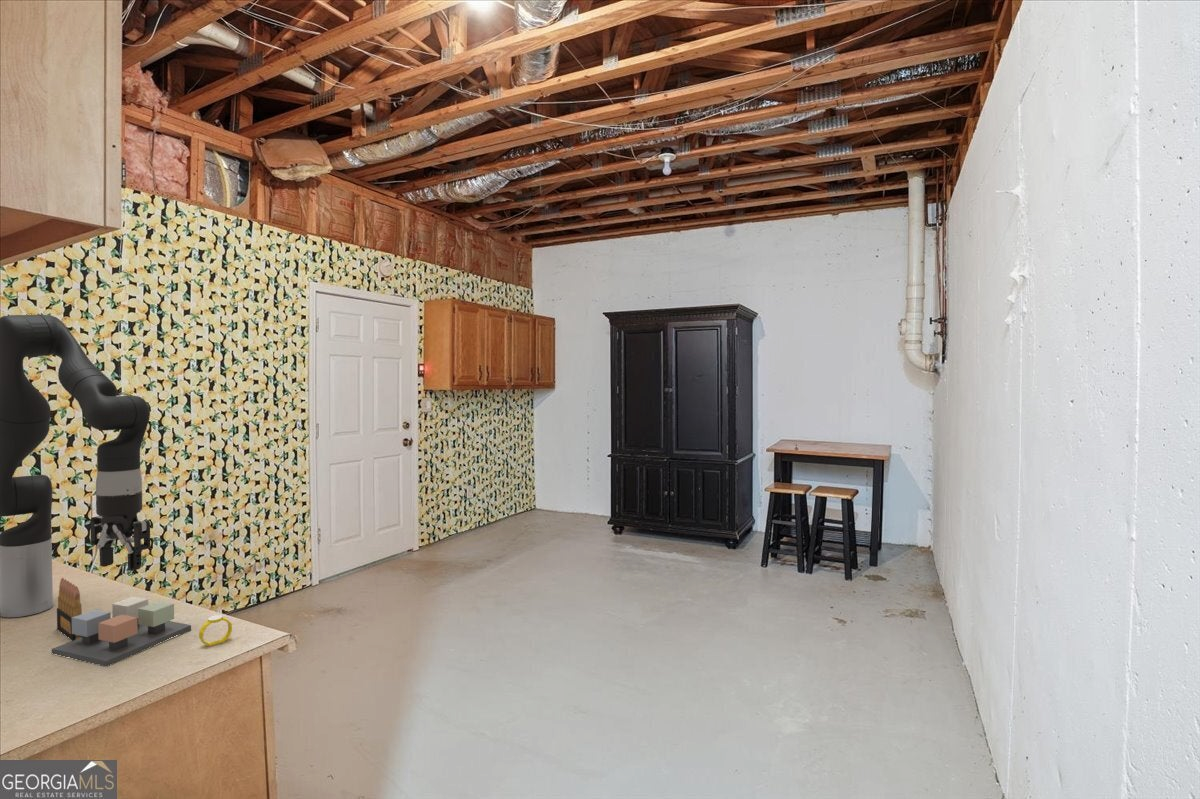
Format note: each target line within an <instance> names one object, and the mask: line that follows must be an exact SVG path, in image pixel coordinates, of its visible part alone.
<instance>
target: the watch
mask: <svg viewBox="0 0 1200 799" xmlns="http://www.w3.org/2000/svg"><path fill="white" fill-rule="evenodd" d="M222 621H224V622H225V623H227V626H228V627H227V628H228V629H227V631H226V634H225V635H224V636H223V637H222V638H221V639H217V640H214V641H211V642H208V641H205V639H204V632H205V630H206V629H207V627H208V626H210V624H216V623H220V622H222ZM232 632H233V626H232V623H231V621H230V620H229V619H228V618H226V617H224V616H223V615H222V614H215V615H212V616H209V617H208V618H207V621H206V622H204V624H202V626H201V627H200V629H199V634H198V636H199V640H200V642H201V643H203V645H205V646H207V647H212V646H215V645H218V644H221V643H226V641H227V640H228V639H229V638H230V637H231V634H232Z"/></svg>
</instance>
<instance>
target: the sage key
mask: <svg viewBox="0 0 1200 799" xmlns="http://www.w3.org/2000/svg"><path fill="white" fill-rule="evenodd" d="M174 619H175V604H174V603H172V602H165V601H161V600H159V601H155V602H153V603H150V604H149V603H148V605H147V606H144V607H141V608H138V624H140V625H146V626H151V627H155V626H158V625H160V624H163V623H165V622H168V621H172V620H174Z"/></svg>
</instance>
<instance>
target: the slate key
mask: <svg viewBox="0 0 1200 799" xmlns="http://www.w3.org/2000/svg"><path fill="white" fill-rule="evenodd" d="M111 612H112V611H104V610H99V609H93V610H90V611H87V612H85V613H82V614H81V615H78V616H75V617H72V634H75V635H80V636H85V637H88V636H91V635H94V634H96V633H98V623H100V622H103V621H105V620H108V619H111V618H112V617H111V616H112V615H111Z"/></svg>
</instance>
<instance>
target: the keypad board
mask: <svg viewBox="0 0 1200 799" xmlns="http://www.w3.org/2000/svg"><path fill="white" fill-rule="evenodd" d="M137 631H138V634H135V635H133V636H130V637H128V638H125V639H123V640H120V641H118V642H115V643H113V642H108V641H104V640H99V633H96V634H94V635H91V636H88V637H85V636H82V638H79V639H76V640H74V641H71V640H70V641H68V642H66V643H63V644H61V645H57V646H55V647H53V648H51V654H52V653H53V654H57V655H61V656H60V657H62V656H65V657H64V658H66V657H70V658H73V659H72V660H75V659H77V660H76V661H79V660H81V661H80V662H83V661H86V662H85V663H88V662H90V663H89V664H92V663H94V664H93V665H96V664H100V665H99V666H101V665H103V666H102V667H105V666H107V667H109V666H111V665H110V664H112V665H113V663H114V664H116V663H118V661H119V662H121V661H123V660H125V659H124V658H126V659H127V657H128V658H130V657H132V656H131V655H133V656H134V654H135V655H137V654H139V653H138V652H140V651H142V650H144V649H146V650H148V649H147V648H149V647H151V646H153V647H155V646H154V645H156V644H158V643H160V642H163V641H165V640H167V639H169V638H171V637H174V636H176V635H179V634H181V635H183V634H182V633H184V632H186V633H188V632H191V631H192V625H191V624H186V623H183V622H176V621H172V620H170V621H168V622H165V623H163V624H160V625H158V626H155V627H151V626H146V625H140V624H138V618H137ZM187 631H188V632H187ZM184 634H185V633H184ZM179 636H180V635H179ZM174 638H175V637H174ZM167 641H168V640H167ZM165 642H166V641H165ZM163 643H164V642H163ZM160 644H161V643H160ZM158 645H159V644H158ZM156 646H157V645H156ZM151 648H152V647H151ZM149 649H150V648H149ZM144 651H145V650H144ZM142 652H143V651H142ZM136 653H137V654H136ZM140 653H141V652H140ZM53 654H52V655H53ZM57 655H56V656H57ZM129 656H130V657H129ZM70 658H69V659H70ZM122 659H123V660H122ZM120 660H121V661H120ZM108 665H109V666H108Z"/></svg>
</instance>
